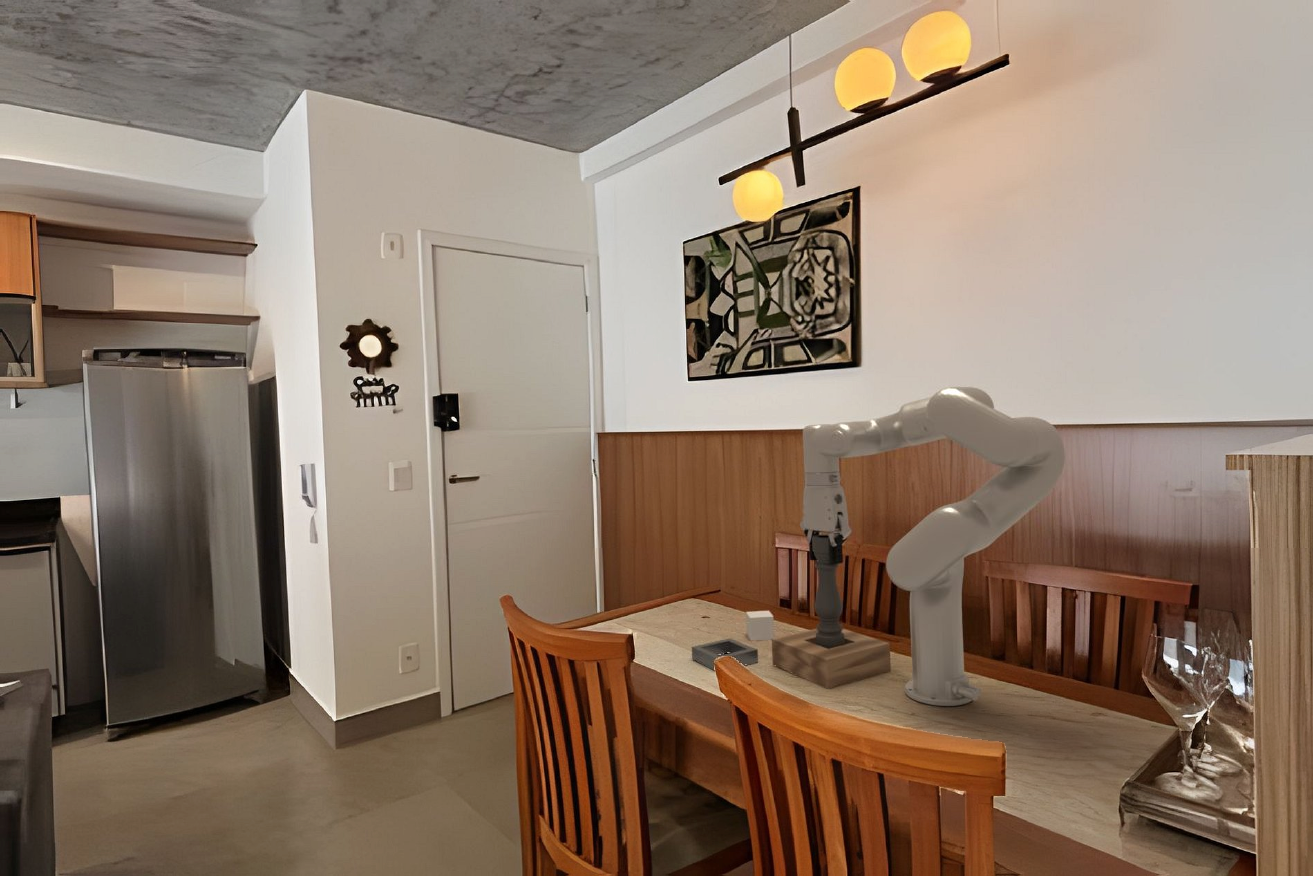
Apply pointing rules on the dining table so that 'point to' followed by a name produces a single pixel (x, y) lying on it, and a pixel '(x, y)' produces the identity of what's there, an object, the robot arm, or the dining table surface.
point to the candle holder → (827, 596)
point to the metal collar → (711, 650)
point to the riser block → (831, 657)
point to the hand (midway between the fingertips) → (826, 560)
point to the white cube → (760, 625)
